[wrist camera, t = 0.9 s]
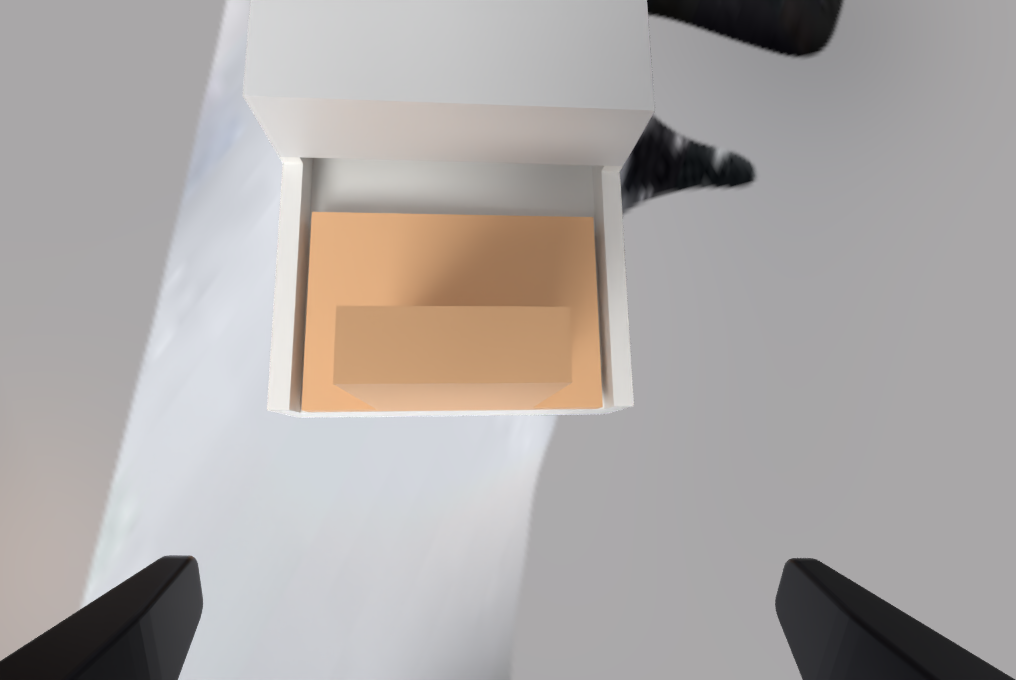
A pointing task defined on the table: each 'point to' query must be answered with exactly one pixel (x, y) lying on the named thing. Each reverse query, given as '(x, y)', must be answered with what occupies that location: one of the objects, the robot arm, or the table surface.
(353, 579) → the table surface
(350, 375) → the tan boxy piece
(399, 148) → the camera case
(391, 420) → the table surface
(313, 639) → the table surface
